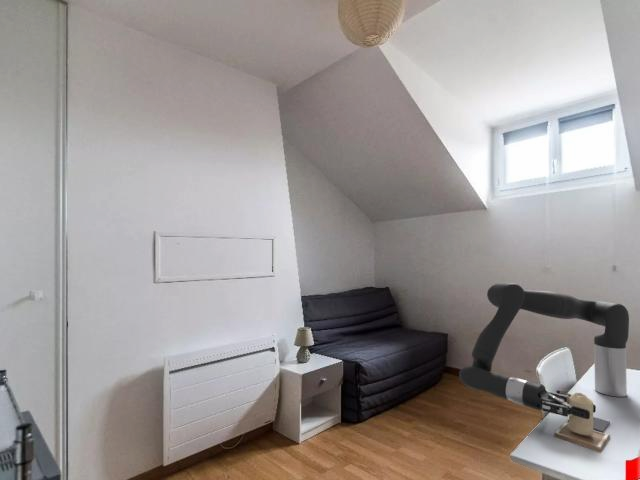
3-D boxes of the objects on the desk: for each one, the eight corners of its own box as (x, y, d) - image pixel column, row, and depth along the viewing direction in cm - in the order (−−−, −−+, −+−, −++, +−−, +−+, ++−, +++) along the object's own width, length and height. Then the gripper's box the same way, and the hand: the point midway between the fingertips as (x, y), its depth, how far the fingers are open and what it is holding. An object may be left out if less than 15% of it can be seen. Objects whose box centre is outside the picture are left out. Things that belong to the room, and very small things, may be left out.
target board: (565, 424, 108) (565, 420, 108) (609, 438, 100) (609, 434, 100) (554, 436, 100) (554, 432, 100) (600, 452, 93) (600, 448, 93)
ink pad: (575, 413, 115) (575, 411, 115) (609, 423, 109) (609, 421, 109) (567, 422, 109) (567, 420, 109) (602, 433, 103) (602, 430, 103)
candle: (597, 437, 97) (597, 399, 97) (574, 434, 98) (574, 397, 98) (586, 427, 103) (587, 391, 103) (565, 424, 104) (565, 389, 104)
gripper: (516, 386, 107) (585, 405, 94) (533, 375, 116) (598, 391, 103) (516, 411, 106) (585, 434, 94) (533, 399, 116) (599, 418, 103)
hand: (592, 411), depth 99 cm, fingers closed on candle, 5 cm apart
